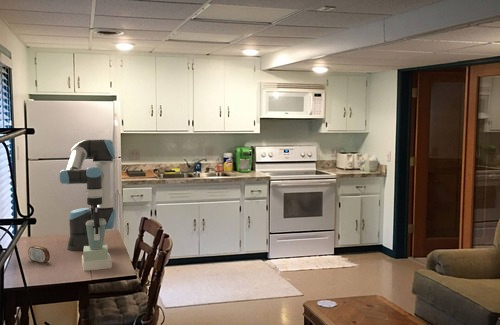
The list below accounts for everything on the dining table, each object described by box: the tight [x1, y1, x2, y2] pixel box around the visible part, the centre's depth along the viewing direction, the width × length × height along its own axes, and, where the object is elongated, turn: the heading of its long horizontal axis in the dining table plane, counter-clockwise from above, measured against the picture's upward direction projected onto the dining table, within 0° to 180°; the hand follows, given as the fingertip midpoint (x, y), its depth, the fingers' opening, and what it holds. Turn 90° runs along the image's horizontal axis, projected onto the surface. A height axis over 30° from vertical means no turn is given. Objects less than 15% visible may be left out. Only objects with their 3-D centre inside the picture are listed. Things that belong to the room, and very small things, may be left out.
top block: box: [82, 244, 109, 261], centre depth 270 cm, size 12×12×5 cm
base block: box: [81, 252, 113, 271], centre depth 270 cm, size 14×14×5 cm
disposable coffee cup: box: [85, 219, 107, 249], centre depth 269 cm, size 11×11×15 cm
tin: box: [27, 244, 51, 264], centre depth 278 cm, size 15×3×8 cm, turn 59°
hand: (95, 237), depth 269 cm, fingers open, 13 cm apart
